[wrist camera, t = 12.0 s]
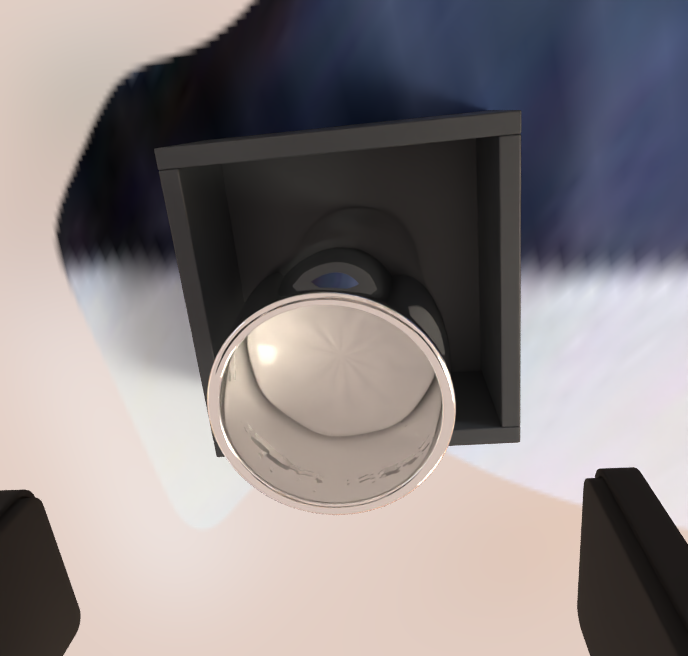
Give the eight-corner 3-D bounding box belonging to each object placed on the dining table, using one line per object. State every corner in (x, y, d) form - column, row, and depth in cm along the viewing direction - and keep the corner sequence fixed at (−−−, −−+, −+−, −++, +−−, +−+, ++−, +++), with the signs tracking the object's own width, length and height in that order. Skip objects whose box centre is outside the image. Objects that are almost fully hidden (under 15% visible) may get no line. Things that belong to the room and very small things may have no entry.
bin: (206, 140, 28) (153, 148, 22) (490, 110, 27) (521, 110, 21) (249, 391, 33) (216, 457, 27) (494, 376, 32) (520, 443, 25)
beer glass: (296, 335, 31) (220, 525, 17) (281, 202, 28) (176, 293, 14) (429, 329, 30) (465, 520, 16) (425, 192, 28) (462, 276, 14)
